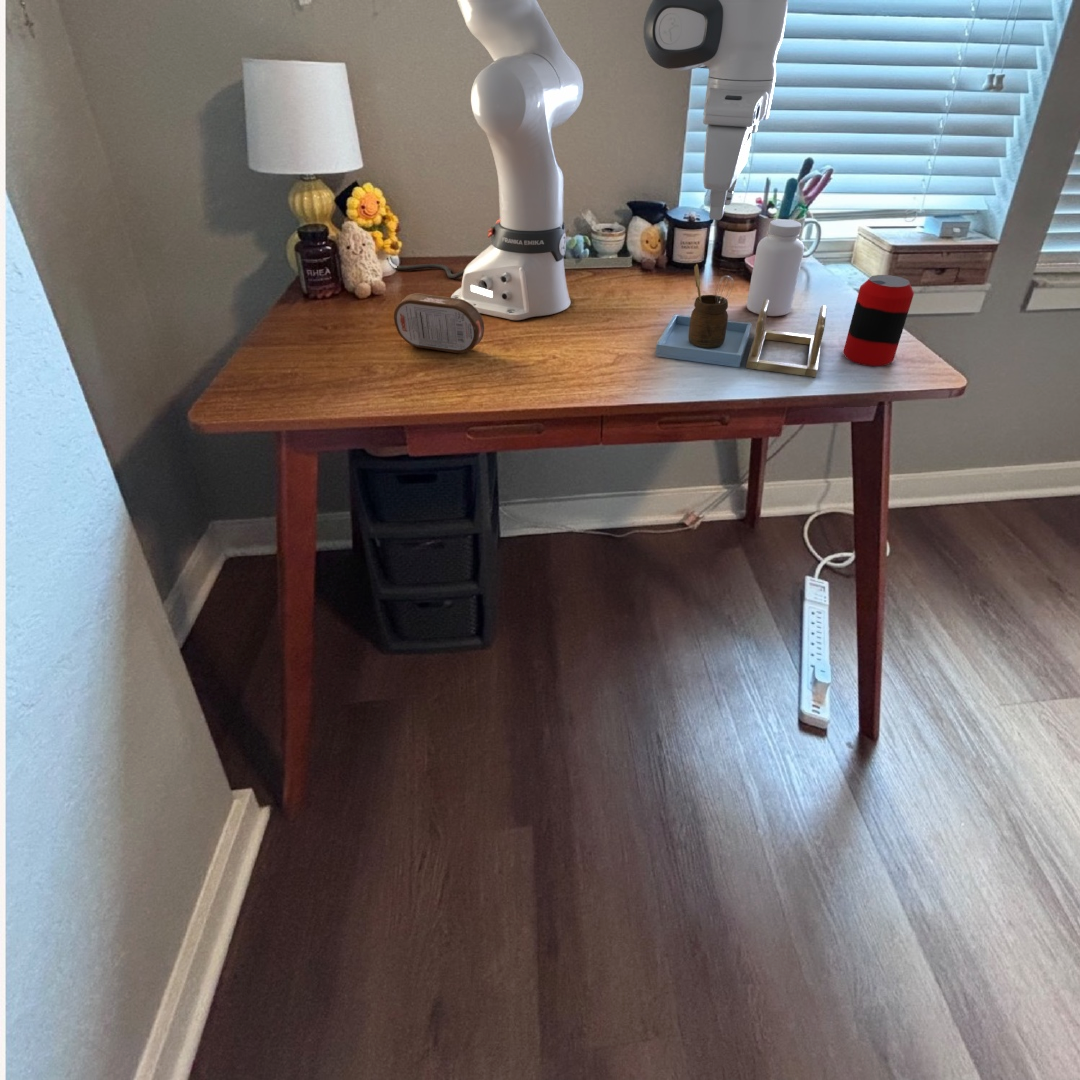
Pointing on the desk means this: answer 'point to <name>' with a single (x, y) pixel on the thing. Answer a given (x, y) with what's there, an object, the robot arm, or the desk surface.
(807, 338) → the rack
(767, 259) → the pill bottle
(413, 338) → the tin
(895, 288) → the soda can
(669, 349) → the tray
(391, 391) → the desk surface
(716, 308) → the utensil holder
